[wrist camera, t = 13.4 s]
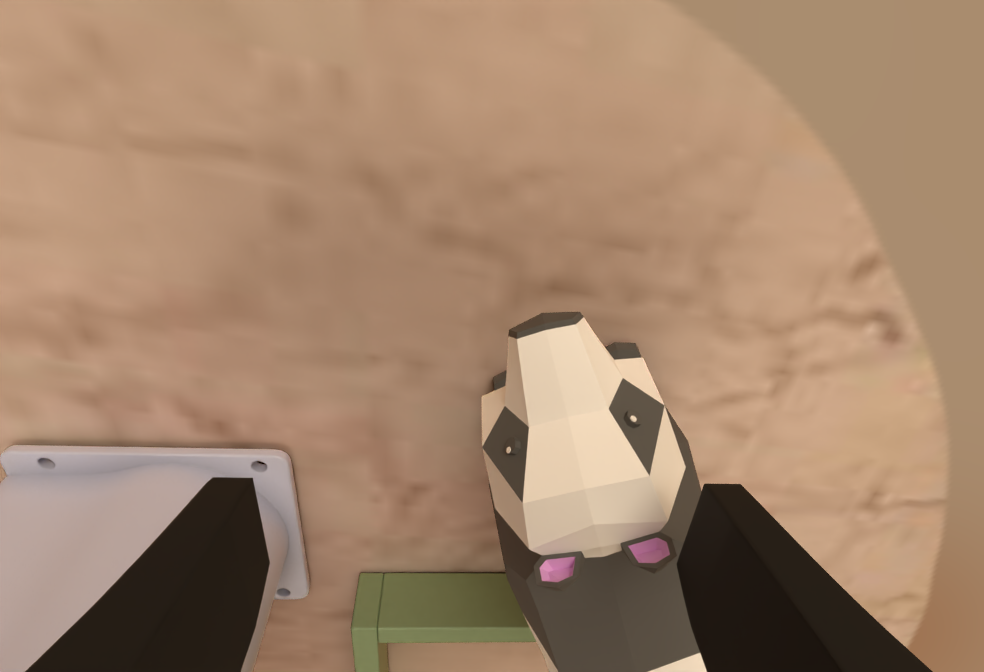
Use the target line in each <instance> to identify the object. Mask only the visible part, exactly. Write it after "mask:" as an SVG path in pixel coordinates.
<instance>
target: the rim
mask: <svg viewBox="0 0 984 672" xmlns="http://www.w3.org/2000/svg"><path fill="white" fill-rule="evenodd" d="M351 635H352V645H353V655H354V665H355V672H388V652H387V643H455V642H536V640H535V638H534V636H533V634H532V631H531V629H530V627H529V625H528V623H527V621H526V619H525V617H524V615H523V613H522V610H521V608H520V606H519V604H518V602H517V600H516V597H515V595H514V593H513V591H512V589H511V587H510V584H509V582H508V580H507V576H506V573H385V574H384V575H383V573H360V575H359V580H358V587H357V593H356V599H355V605H354V611H353V618H352V624H351Z"/></svg>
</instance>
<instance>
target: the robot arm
mask: <svg viewBox="0 0 984 672" xmlns="http://www.w3.org/2000/svg"><path fill="white" fill-rule="evenodd" d="M256 461H260V462H263V463H265V464H260V463H258V462H256ZM0 462H1V464H2V466H3V468H4V470H5V472H6V474H7V476H6V477H5V478H4V479H3V481H2V482H1V483H0V672H253V670H254V666H255V663H256V659H257V656H258V652H259V649H260V645H261V642H262V639H263V635H264V632H265V628H266V625H267V621H268V618H269V614H270V611H271V607H272V604H273V600H274V599H302V598H304V597H306V596H307V595H308V593H309V589H310V580H309V574H308V567H307V561H306V554H305V547H304V541H303V534H302V528H301V521H300V515H299V508H298V502H297V495H296V488H295V482H294V475H293V469H292V462H291V458H290V456H289V455H288V454H287V453H286V452H284V451H281V450H277V449H232V448H171V447H110V446H49V445H12V446H9V447H8V448H6V449H5V451H4V452H3V453H2V454H1V456H0ZM676 565H677V569H678V574H679V578H680V583H681V587H682V592H683V597H684V601H685V605H686V609H687V613H688V617H689V621H690V625H691V628H692V631H693V634H694V637H695V640H696V643H697V645H698V648H699V651H700V654H701V657H702V659H703V662H704V665H705V668H706V671H707V672H932V671H931V670H930V669H929V668H928V667H927V666H926V665H924V664H923V663H922V662H921V661H920V660H919V659H918V658H917V657H916V656H915V655H913V654H912V653H911V652H910V651H909V650H908V649H907V648H906V647H905V646H904V645H902V644H901V643H900V642H899V641H898V640H897V639H896V638H895V637H894V636H893V635H891V634H890V633H889V632H888V631H887V630H886V629H885V628H884V627H883V626H882V625H881V624H880V623H879V622H877V621H876V620H875V619H874V618H873V617H872V616H871V615H870V614H869V613H868V612H867V611H866V610H865V609H864V608H863V607H862V606H861V605H860V604H859V603H857V602H856V601H855V600H854V599H853V598H852V597H851V596H850V595H849V594H848V593H847V592H846V591H845V590H844V589H843V588H842V587H841V586H840V585H839V584H838V583H837V582H836V581H835V580H834V579H833V578H832V577H831V576H830V575H829V574H828V573H827V572H826V571H825V570H824V569H823V568H822V567H821V566H820V565H819V564H818V563H817V562H816V561H815V560H814V559H813V558H812V557H811V556H810V555H809V554H808V553H807V552H806V551H805V550H804V549H803V548H802V547H801V546H800V545H799V544H798V543H797V542H796V541H795V540H794V539H793V537H792V536H791V535H790V534H789V533H788V532H787V531H786V530H785V529H784V528H783V527H782V526H781V525H780V524H779V523H778V522H777V521H776V520H775V519H774V518H773V517H772V516H771V515H770V514H769V513H768V512H767V511H766V510H765V509H764V508H763V507H762V506H761V504H760V503H759V502H758V501H757V500H756V499H755V498H754V497H753V496H752V495H751V494H750V493H749V492H748V491H747V490H746V489H745V488H744V487H743V486H742V485H741V484H704V486H703V489H702V492H701V495H700V498H699V501H698V504H697V507H696V509H695V512H694V515H693V518H692V521H691V524H690V527H689V529H688V532H687V535H686V538H685V541H684V544H683V547H682V549H681V552H680V555H679V558H678V561H677V564H676Z"/></svg>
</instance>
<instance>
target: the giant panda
mask: <svg viewBox="0 0 984 672" xmlns="http://www.w3.org/2000/svg"><path fill="white" fill-rule="evenodd" d="M493 379H494V391H493V392H490V393H488V394H486V395H483V396H482V450H483V454H484V459H485V464H486V468H487V473H488V478H489V487H490V492H491V497H492V503H493V508H494V513H495V518H496V524H497V529H498V534H499V539H500V544H501V550H502V555H503V560H504V565H505V571H506V576H507V580H508V582H509V584H510V587H511V589H512V591H513V593H514V595H515V597H516V600H517V602H518V604H519V606H520V608H521V610H522V613H523V615H524V617H525V619H526V621H527V623H528V625H529V627H530V629H531V631H532V634H533V636H534V638H535V640H536V642H537V644H538V646H539V648H540V650H541V652H542V654H543V656H544V659H545V661H546V664H547V667H548V670H549V672H707V671H706V668H705V665H704V662H703V659H702V657H701V654H700V651H699V648H698V645H697V643H696V640H695V637H694V634H693V631H692V628H691V625H690V621H689V617H688V613H687V609H686V605H685V601H684V597H683V592H682V587H681V583H680V578H679V574H678V569H677V565H676V564H677V561H678V558H679V555H680V552H681V549H682V547H683V544H684V541H685V538H686V535H687V532H688V529H689V527H690V524H691V521H692V518H693V515H694V512H695V509H696V507H697V504H698V501H699V498H700V495H701V492H702V491H701V488H700V484H699V480H698V477H697V473H696V470H695V466H694V462H693V459H692V455H691V451H690V448H689V444H688V441H687V439H686V438H685V436H684V435H683V433H682V431H681V430H680V428H679V427H678V425H677V424H676V422H675V421H674V419H673V418H672V416H671V415H670V413H669V412H668V410H667V408H666V407H665V405H664V403H663V401H662V399H661V397H660V394H659V392H658V390H657V388H656V385H655V383H654V381H653V379H652V377H651V374H650V372H649V370H648V368H647V366H646V363H645V361H644V359H643V358H642V357H641V355H640V352H639V350H638V348H637V346H636V344H635V343H613V344H611V345H610V346H608V347H606V348H605V347H604V345H603V344H602V343H601V341H600V340H599V339H598V337H597V336H596V335H595V333H594V332H593V331H592V329H591V327H590V326H589V324H588V323H587V321H586V320H585V318H584V317H583V315H582V314H581V313H580V312H560V313H541V314H539V315H537V316H535V317H533V318H531V319H529V320H528V321H526V322H524V323H522V324H520V325H518V326H516V327H514V328H512V329H510V330H509V335H508V354H507V370H506V371H504V372H502V373H501V374H499V375H497V376H495V377H494V378H493Z"/></svg>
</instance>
